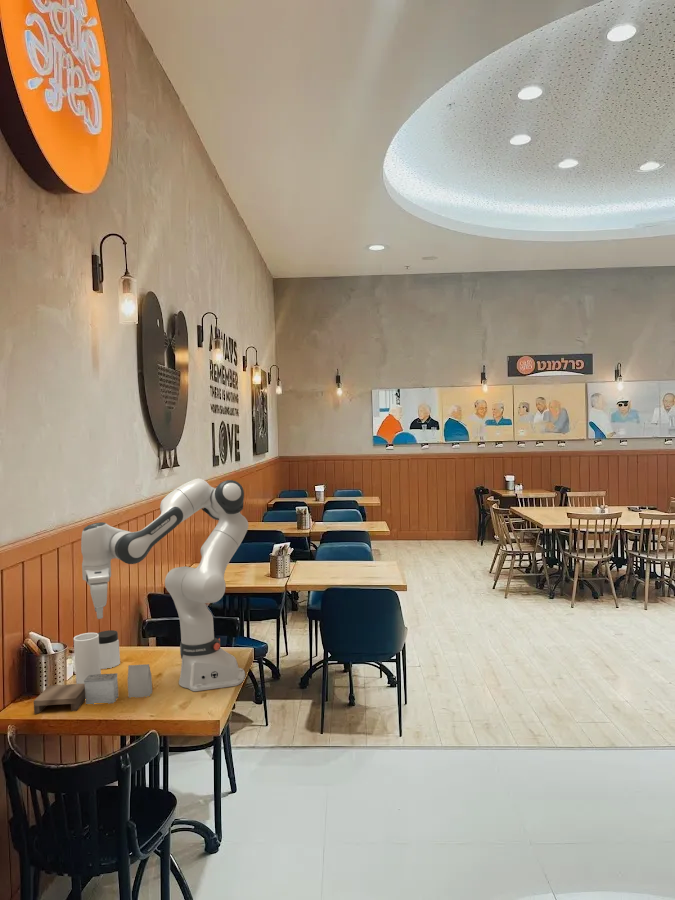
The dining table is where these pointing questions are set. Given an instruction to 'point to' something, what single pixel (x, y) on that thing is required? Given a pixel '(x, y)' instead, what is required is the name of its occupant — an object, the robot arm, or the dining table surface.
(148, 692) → the grey tapered block
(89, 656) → the cup
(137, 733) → the dining table surface
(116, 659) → the jar
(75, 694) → the walnut shelf
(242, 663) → the dining table surface
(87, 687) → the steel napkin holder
